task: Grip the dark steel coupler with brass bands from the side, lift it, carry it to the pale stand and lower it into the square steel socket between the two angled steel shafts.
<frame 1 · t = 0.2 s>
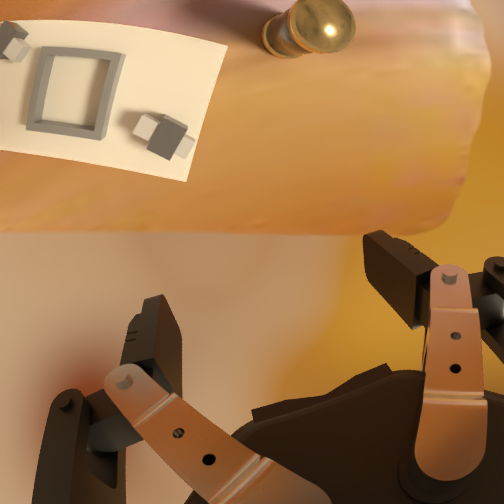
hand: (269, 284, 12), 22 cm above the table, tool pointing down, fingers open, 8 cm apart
coupler: (285, 36, 26), on the table
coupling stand: (79, 89, 25), on the table
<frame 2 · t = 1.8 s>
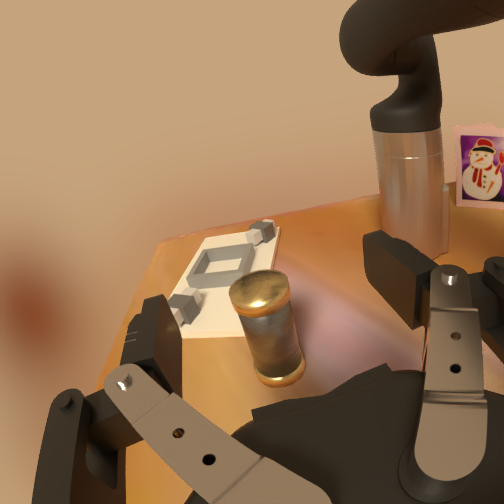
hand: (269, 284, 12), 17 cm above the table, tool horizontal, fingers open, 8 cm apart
coupler: (280, 368, 30), on the table
greeting card: (481, 203, 49), on the table
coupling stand: (226, 276, 48), on the table
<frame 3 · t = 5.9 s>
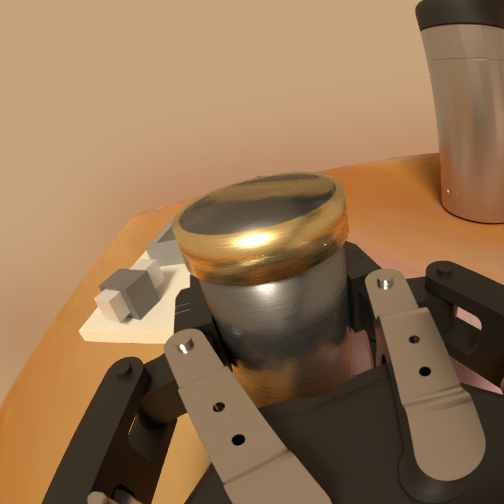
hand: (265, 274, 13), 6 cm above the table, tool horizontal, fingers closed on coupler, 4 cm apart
coupler: (304, 411, 13), on the table, touching gripper
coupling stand: (209, 249, 31), on the table
when the fingers open (9 cm above the table, at t = 11.5 s): coupler drops 2 cm, resting on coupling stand.
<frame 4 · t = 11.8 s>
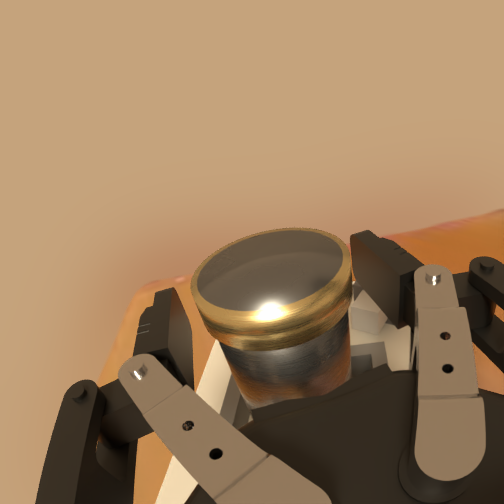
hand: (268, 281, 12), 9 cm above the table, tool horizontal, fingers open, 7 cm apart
coupler: (308, 433, 14), point 1 cm above the table, touching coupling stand
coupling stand: (311, 440, 14), on the table
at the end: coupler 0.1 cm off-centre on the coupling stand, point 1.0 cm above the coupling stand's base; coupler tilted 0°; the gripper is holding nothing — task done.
